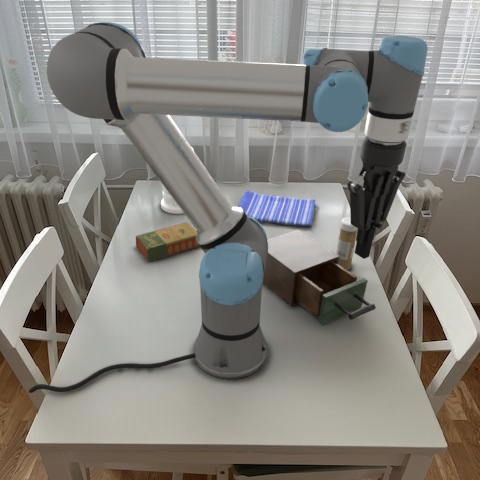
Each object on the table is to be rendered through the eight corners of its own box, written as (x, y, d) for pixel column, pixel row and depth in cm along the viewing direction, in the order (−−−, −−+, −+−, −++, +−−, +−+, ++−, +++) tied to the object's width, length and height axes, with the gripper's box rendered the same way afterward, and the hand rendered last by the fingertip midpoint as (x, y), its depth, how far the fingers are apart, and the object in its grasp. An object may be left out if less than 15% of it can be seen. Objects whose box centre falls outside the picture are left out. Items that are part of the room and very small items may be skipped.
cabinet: (333, 289, 123) (339, 256, 117) (291, 306, 117) (294, 272, 111) (295, 261, 133) (298, 229, 127) (253, 275, 127) (255, 243, 121)
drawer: (380, 321, 112) (387, 293, 107) (339, 340, 106) (345, 311, 101) (321, 278, 125) (325, 252, 120) (282, 293, 119) (284, 266, 114)
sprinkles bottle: (354, 267, 131) (363, 222, 122) (341, 272, 129) (350, 226, 120) (342, 260, 134) (350, 215, 125) (330, 264, 132) (337, 219, 123)
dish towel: (244, 196, 164) (245, 188, 162) (315, 204, 160) (316, 196, 158) (233, 220, 151) (233, 211, 149) (310, 229, 147) (311, 220, 145)
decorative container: (186, 195, 164) (184, 141, 153) (203, 208, 156) (202, 152, 145) (155, 202, 159) (149, 147, 148) (170, 217, 151) (166, 159, 140)
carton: (201, 247, 138) (200, 233, 135) (148, 262, 131) (146, 248, 128) (187, 234, 143) (187, 221, 140) (136, 248, 136) (134, 234, 134)
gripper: (374, 151, 80) (351, 272, 95) (427, 138, 86) (397, 254, 101) (343, 138, 85) (325, 255, 100) (395, 126, 91) (371, 239, 106)
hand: (361, 254), depth 100 cm, fingers closed
